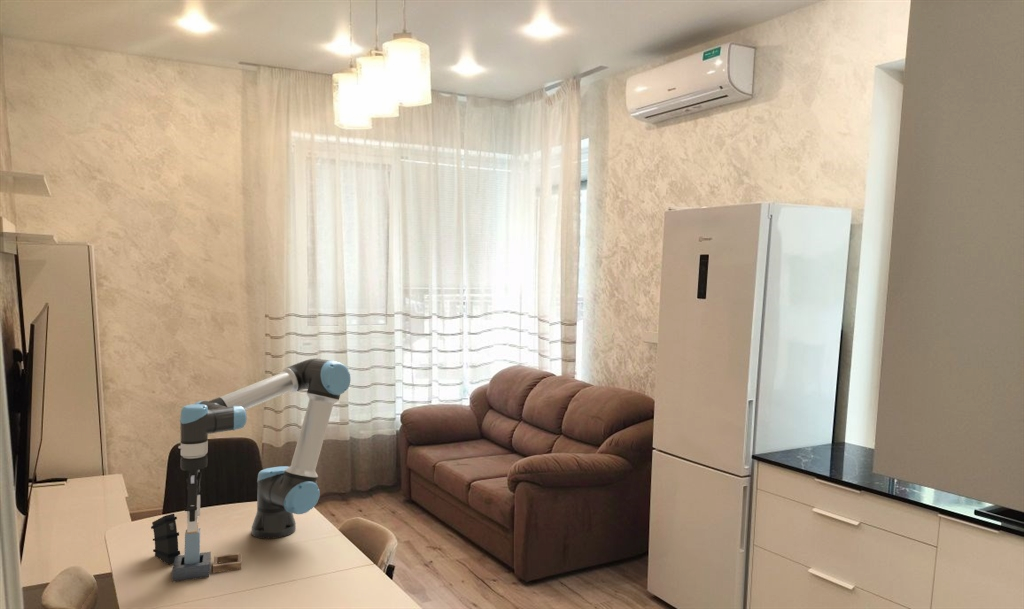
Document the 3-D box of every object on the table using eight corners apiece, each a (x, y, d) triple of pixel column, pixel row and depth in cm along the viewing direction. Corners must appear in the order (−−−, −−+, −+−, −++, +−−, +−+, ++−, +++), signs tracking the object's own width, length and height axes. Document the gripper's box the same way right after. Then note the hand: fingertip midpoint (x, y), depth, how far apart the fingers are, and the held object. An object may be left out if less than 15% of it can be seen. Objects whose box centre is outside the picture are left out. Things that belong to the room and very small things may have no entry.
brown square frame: (241, 558, 209) (241, 552, 209) (241, 568, 201) (241, 562, 201) (214, 562, 205) (214, 556, 205) (213, 572, 198) (213, 566, 198)
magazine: (172, 563, 200) (163, 515, 204) (155, 570, 208) (148, 524, 211) (184, 559, 203) (176, 512, 207) (168, 566, 211) (160, 521, 214)
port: (210, 564, 204) (210, 551, 204) (209, 577, 195) (209, 564, 195) (175, 568, 200) (175, 555, 200) (172, 582, 191) (172, 568, 191)
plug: (199, 569, 200) (200, 521, 200) (198, 574, 197) (199, 526, 196) (185, 571, 199) (186, 523, 198) (184, 576, 195) (185, 527, 195)
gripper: (183, 446, 207) (183, 511, 208) (176, 467, 184) (176, 540, 185) (209, 444, 210) (209, 508, 211) (205, 464, 187) (205, 536, 188)
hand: (193, 523), depth 198 cm, fingers open, 13 cm apart
